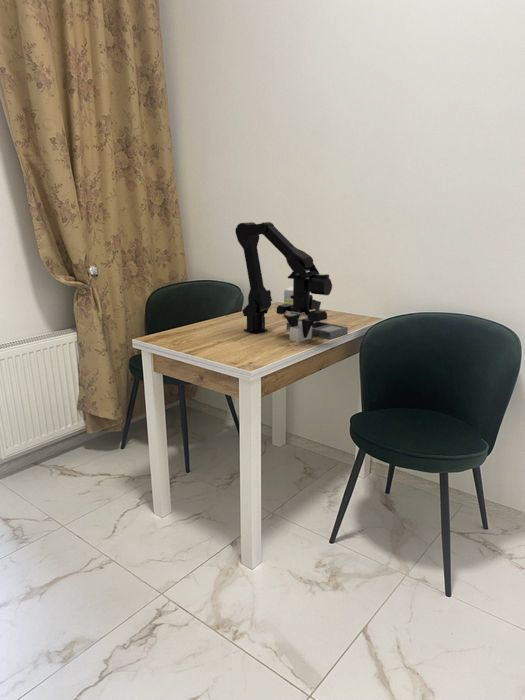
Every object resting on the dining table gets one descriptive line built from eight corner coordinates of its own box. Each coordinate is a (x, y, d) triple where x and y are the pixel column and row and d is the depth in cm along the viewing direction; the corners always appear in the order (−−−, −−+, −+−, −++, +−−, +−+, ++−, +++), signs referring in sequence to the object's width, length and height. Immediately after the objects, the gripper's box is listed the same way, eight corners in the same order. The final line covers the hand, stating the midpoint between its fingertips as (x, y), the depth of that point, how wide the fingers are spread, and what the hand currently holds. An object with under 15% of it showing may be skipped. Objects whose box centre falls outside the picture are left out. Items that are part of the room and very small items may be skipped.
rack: (329, 339, 173) (329, 332, 172) (286, 329, 187) (286, 322, 186) (347, 333, 181) (347, 326, 180) (304, 324, 194) (304, 317, 194)
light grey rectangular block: (298, 342, 170) (298, 329, 169) (289, 340, 173) (289, 327, 172) (311, 338, 175) (311, 326, 174) (302, 336, 178) (303, 324, 177)
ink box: (293, 318, 204) (293, 290, 200) (283, 317, 206) (283, 289, 203) (303, 314, 211) (303, 287, 207) (292, 313, 213) (293, 286, 210)
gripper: (337, 292, 168) (336, 336, 173) (296, 286, 181) (295, 327, 186) (317, 297, 161) (315, 343, 165) (275, 290, 173) (275, 333, 178)
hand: (300, 336), depth 174 cm, fingers closed on light grey rectangular block, 4 cm apart
